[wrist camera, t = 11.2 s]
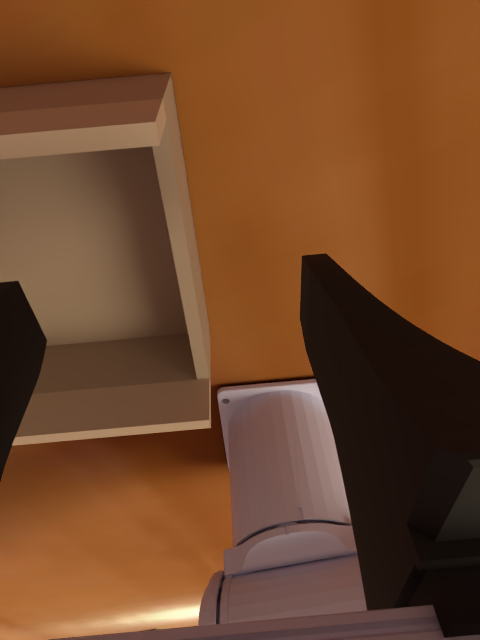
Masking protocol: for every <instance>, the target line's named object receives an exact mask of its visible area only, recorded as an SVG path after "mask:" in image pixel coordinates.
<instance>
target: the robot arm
mask: <svg viewBox="0 0 480 640" xmlns="http://www.w3.org/2000/svg"><path fill="white" fill-rule="evenodd" d="M300 321H301V326H302V332H303V337H304V342H305V347H306V351H307V355H308V358H309V361H310V364H311V367H312V370H313V373H314V376H315V379H308V380H297V381H286V382H274V383H263V384H252V385H241V386H230V387H222V388H220V389H218V391H217V399H218V405H219V412H220V418H221V425H222V431H223V438H224V444H225V451H226V457H227V464H228V469H229V470H230V487H231V509H232V532H233V548H231V549H226V550H224V571H218V572H216V573H214V575H213V576H212V578H211V579H210V582H209V584H208V586H207V588H206V590H205V592H204V594H203V597H202V601H201V606H200V613H199V625H198V626H193V627H182V628H171V629H160V630H149V631H138V632H127V633H116V634H105V635H94V636H83V637H72V638H61V639H50V640H480V361H478V360H476V359H474V358H472V357H470V356H468V355H466V354H464V353H462V352H460V351H458V350H456V349H454V348H452V347H450V346H449V345H447V344H445V343H443V342H441V341H440V340H438V339H436V338H434V337H433V336H431V335H430V334H428V333H426V332H425V331H423V330H421V329H420V328H418V327H416V326H415V325H413V324H412V323H410V322H409V321H407V320H406V319H404V318H403V317H401V316H400V315H399V314H397V313H396V312H394V311H393V310H392V309H390V308H389V307H388V306H386V305H385V304H384V303H382V302H381V301H380V300H378V299H377V298H376V297H375V296H373V295H372V294H371V293H370V292H368V291H367V290H366V289H365V288H364V287H363V286H361V285H360V284H359V283H358V282H357V281H356V280H354V279H353V278H352V277H351V276H350V275H349V274H348V273H347V272H346V271H345V270H343V269H342V268H341V267H340V266H339V265H338V264H337V263H336V262H335V261H334V260H333V259H331V258H330V257H329V256H328V255H327V254H316V255H305V256H302V271H301V302H300ZM46 344H47V339H46V337H45V335H44V333H43V331H42V329H41V327H40V324H39V322H38V320H37V318H36V316H35V314H34V312H33V310H32V308H31V306H30V304H29V302H28V300H27V298H26V296H25V294H24V292H23V289H22V287H21V285H20V283H19V281H10V282H0V481H1V477H2V474H3V470H4V467H5V463H6V461H7V458H8V455H9V452H10V449H11V446H12V444H13V441H14V439H15V436H16V434H17V431H18V429H19V426H20V424H21V421H22V419H23V416H24V414H25V411H26V409H27V406H28V404H29V401H30V399H31V396H32V394H33V391H34V388H35V386H36V383H37V381H38V378H39V375H40V372H41V367H42V363H43V359H44V354H45V349H46Z"/></svg>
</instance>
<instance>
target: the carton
mask: <svg viewBox="0 0 480 640" xmlns="http://www.w3.org/2000/svg"><path fill="white" fill-rule="evenodd" d="M10 281H19V283H20V285H21V287H22V289H23V292H24V294H25V296H26V298H27V300H28V302H29V304H30V306H31V308H32V310H33V312H34V314H35V316H36V318H37V320H38V322H39V324H40V327H41V329H42V331H43V333H44V335H45V337H46V339H47V344H46V349H45V354H44V359H43V363H42V367H41V372H40V375H39V378H38V381H37V383H36V386H35V388H34V391H33V394H32V396H31V399H30V401H29V404H28V406H27V409H26V411H25V414H24V416H23V419H22V421H21V424H20V426H19V429H18V431H17V434H16V436H15V439H14V441H13V444H12V446H14V445H25V444H37V443H48V442H59V441H70V440H81V439H93V438H104V437H115V436H126V435H137V434H149V433H160V432H171V431H182V430H193V429H205V428H211V377H210V329H209V323H208V316H207V309H206V302H205V296H204V289H203V282H202V276H201V269H200V262H199V255H198V249H197V242H196V235H195V229H194V222H193V215H192V208H191V202H190V195H189V188H188V182H187V175H186V168H185V161H184V155H183V148H182V141H181V135H180V128H179V121H178V114H177V108H176V101H175V94H174V88H173V81H172V74H171V73H163V74H151V75H140V76H128V77H116V78H105V79H93V80H82V81H70V82H59V83H47V84H36V85H24V86H13V87H1V88H0V282H10Z"/></svg>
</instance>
